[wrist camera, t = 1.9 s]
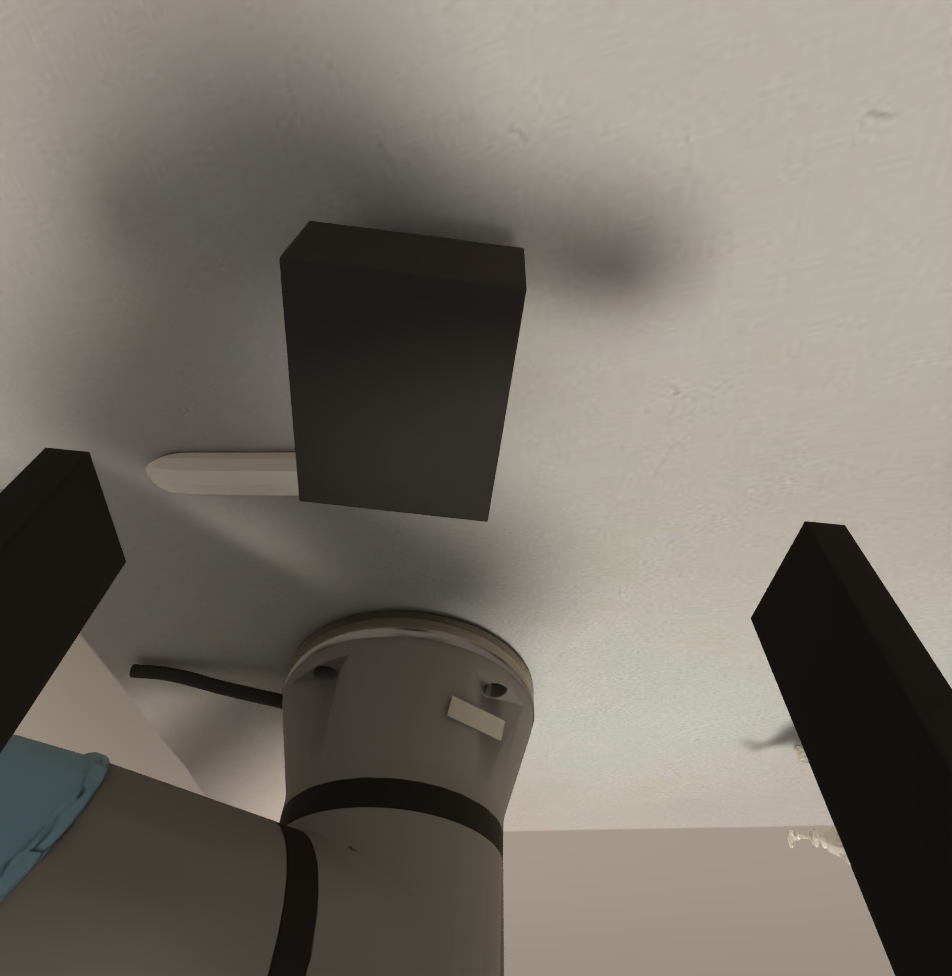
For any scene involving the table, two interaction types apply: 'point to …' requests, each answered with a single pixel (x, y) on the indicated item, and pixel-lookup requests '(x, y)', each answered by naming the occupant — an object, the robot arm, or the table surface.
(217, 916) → the robot arm
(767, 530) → the table surface
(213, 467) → the pen
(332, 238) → the dark grey rectangular block
